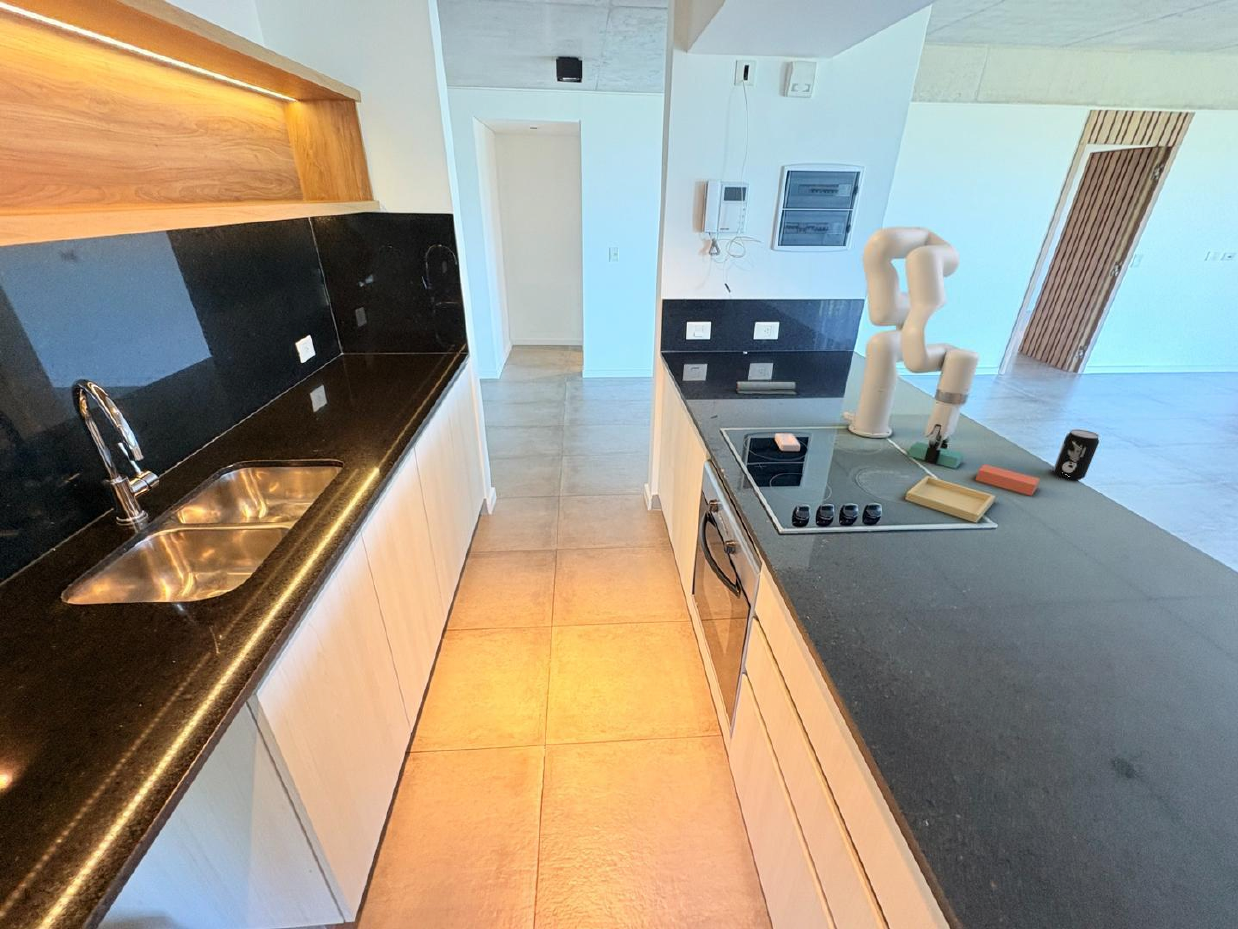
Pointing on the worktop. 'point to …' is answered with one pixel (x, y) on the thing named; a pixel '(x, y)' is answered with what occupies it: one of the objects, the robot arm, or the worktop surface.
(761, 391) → the aluminum foil
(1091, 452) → the beverage can
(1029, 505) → the worktop surface
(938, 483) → the tray
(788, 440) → the soap bar
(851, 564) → the worktop surface
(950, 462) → the pad
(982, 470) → the red rectangular block
